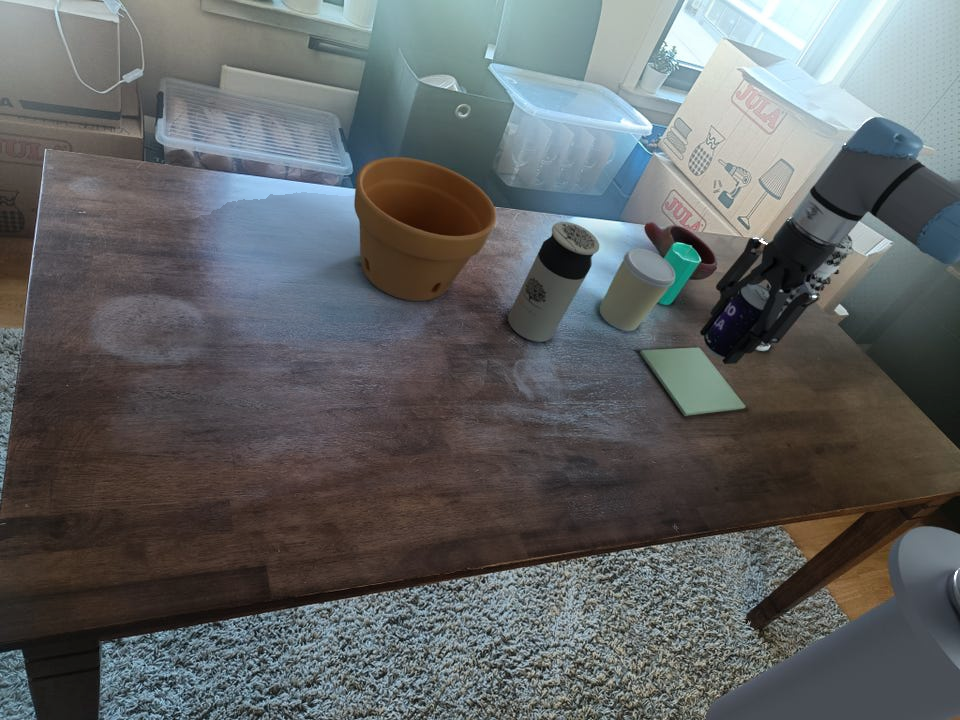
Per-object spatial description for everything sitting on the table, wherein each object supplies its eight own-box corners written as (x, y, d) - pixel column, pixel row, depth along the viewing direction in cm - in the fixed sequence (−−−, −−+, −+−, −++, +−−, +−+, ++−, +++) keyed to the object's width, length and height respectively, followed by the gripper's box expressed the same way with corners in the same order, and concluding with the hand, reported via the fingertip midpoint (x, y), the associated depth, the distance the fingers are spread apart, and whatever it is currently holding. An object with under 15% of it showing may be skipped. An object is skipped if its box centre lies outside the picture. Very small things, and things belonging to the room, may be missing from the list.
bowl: (681, 252, 140) (701, 222, 135) (714, 290, 133) (736, 260, 128) (626, 249, 133) (644, 217, 127) (657, 289, 125) (679, 257, 120)
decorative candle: (740, 314, 129) (823, 212, 113) (778, 343, 126) (868, 242, 109) (721, 327, 123) (806, 221, 107) (760, 358, 120) (853, 253, 103)
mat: (743, 408, 106) (746, 406, 106) (684, 416, 100) (686, 413, 99) (697, 349, 114) (699, 347, 114) (639, 352, 108) (641, 350, 107)
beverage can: (720, 337, 105) (764, 282, 97) (738, 361, 101) (786, 307, 94) (694, 336, 103) (738, 279, 95) (712, 361, 99) (759, 305, 91)
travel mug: (538, 308, 107) (583, 220, 95) (561, 341, 103) (611, 253, 91) (499, 310, 103) (541, 219, 91) (520, 345, 99) (568, 253, 87)
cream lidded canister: (647, 317, 116) (681, 267, 108) (634, 342, 109) (670, 290, 102) (603, 292, 118) (634, 240, 110) (588, 314, 111) (620, 261, 103)
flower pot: (314, 243, 99) (329, 159, 90) (418, 225, 113) (441, 150, 103) (388, 330, 91) (413, 248, 81) (491, 300, 104) (523, 226, 95)
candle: (648, 280, 126) (680, 231, 119) (675, 296, 126) (708, 247, 118) (641, 293, 122) (673, 243, 114) (668, 309, 121) (703, 260, 113)
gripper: (754, 189, 90) (670, 308, 105) (844, 274, 79) (736, 393, 95) (787, 194, 94) (701, 308, 109) (878, 275, 83) (768, 389, 98)
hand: (717, 347), depth 102 cm, fingers closed on beverage can, 6 cm apart
